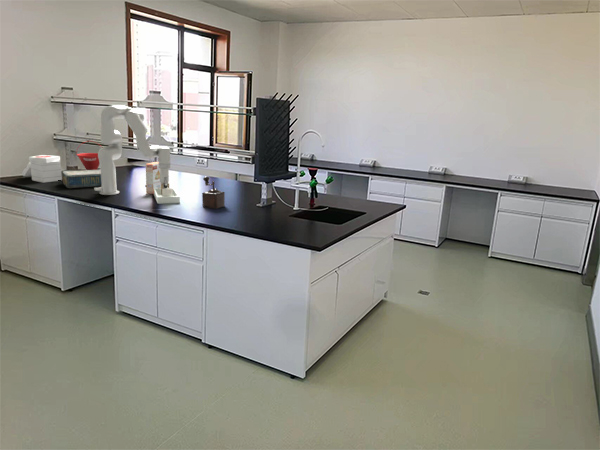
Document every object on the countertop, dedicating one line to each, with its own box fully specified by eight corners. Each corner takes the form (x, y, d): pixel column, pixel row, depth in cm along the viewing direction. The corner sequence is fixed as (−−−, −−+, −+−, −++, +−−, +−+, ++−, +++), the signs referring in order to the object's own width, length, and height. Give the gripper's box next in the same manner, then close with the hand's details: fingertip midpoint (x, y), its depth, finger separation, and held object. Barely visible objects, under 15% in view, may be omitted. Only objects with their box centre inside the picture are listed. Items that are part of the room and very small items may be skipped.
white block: (163, 202, 293) (162, 189, 291) (162, 200, 298) (161, 188, 296) (173, 201, 295) (173, 189, 293) (172, 199, 301) (171, 187, 299)
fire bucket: (78, 181, 355) (75, 141, 347) (76, 176, 372) (73, 139, 364) (108, 179, 366) (106, 141, 358) (105, 176, 382) (102, 139, 374)
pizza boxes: (43, 175, 370) (41, 153, 366) (66, 180, 355) (64, 156, 351) (19, 178, 355) (16, 154, 350) (41, 183, 340) (39, 158, 335)
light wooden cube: (161, 195, 305) (161, 183, 303) (161, 194, 310) (160, 182, 308) (169, 195, 307) (169, 183, 305) (168, 194, 312) (168, 182, 310)
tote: (157, 205, 289) (157, 197, 288) (153, 195, 315) (153, 188, 314) (179, 204, 294) (179, 196, 293) (174, 195, 320) (174, 188, 319)
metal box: (115, 186, 343) (114, 172, 341) (67, 189, 325) (65, 175, 323) (108, 181, 360) (107, 168, 358) (62, 184, 342) (61, 170, 340)
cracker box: (154, 194, 320) (152, 164, 314) (146, 193, 321) (144, 163, 316) (163, 190, 333) (162, 162, 328) (156, 190, 334) (155, 161, 329)
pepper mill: (225, 206, 295) (225, 178, 290) (215, 209, 285) (215, 180, 281) (205, 203, 301) (205, 175, 297) (195, 206, 291) (195, 177, 287)
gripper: (157, 164, 310) (158, 190, 314) (159, 167, 295) (160, 195, 299) (168, 164, 313) (169, 190, 317) (171, 167, 297) (172, 195, 302)
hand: (165, 192), depth 308 cm, fingers closed on light wooden cube, 5 cm apart
